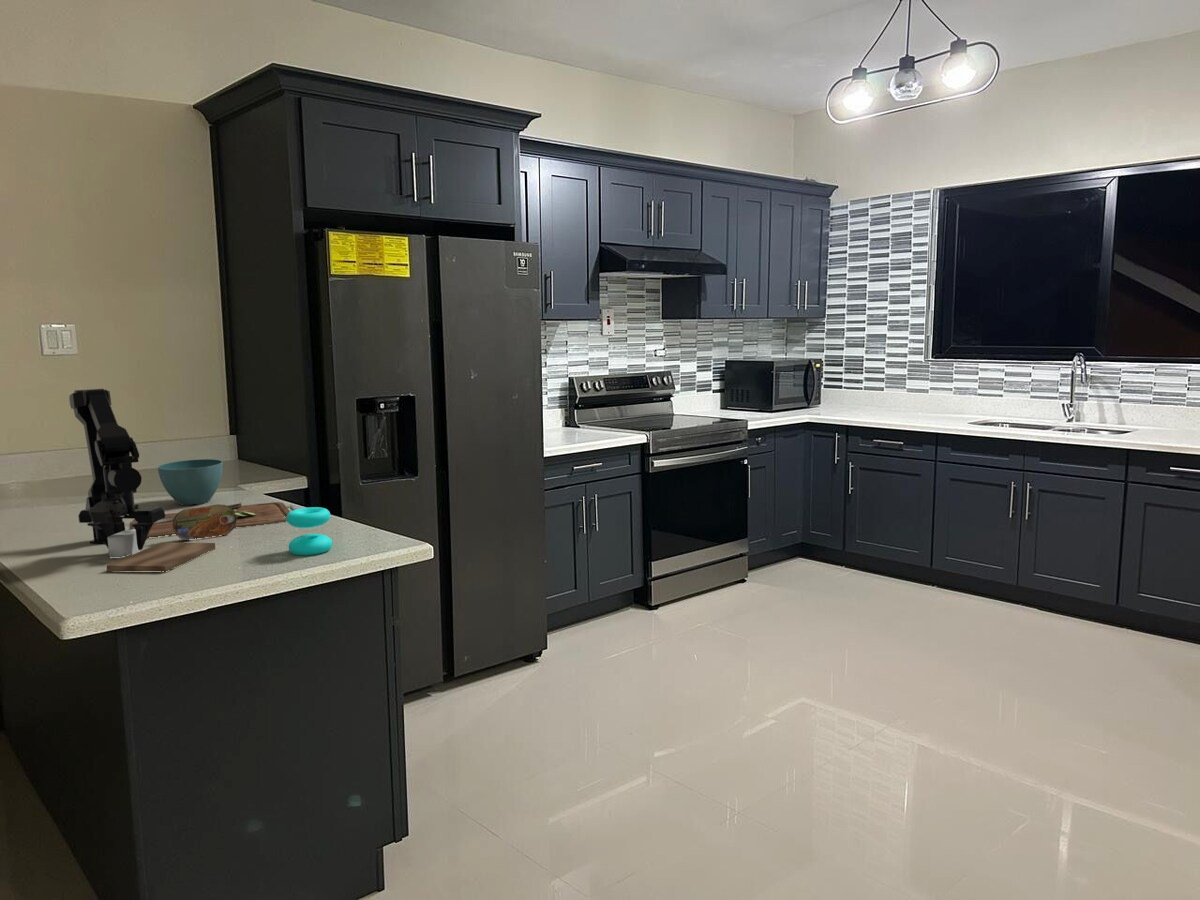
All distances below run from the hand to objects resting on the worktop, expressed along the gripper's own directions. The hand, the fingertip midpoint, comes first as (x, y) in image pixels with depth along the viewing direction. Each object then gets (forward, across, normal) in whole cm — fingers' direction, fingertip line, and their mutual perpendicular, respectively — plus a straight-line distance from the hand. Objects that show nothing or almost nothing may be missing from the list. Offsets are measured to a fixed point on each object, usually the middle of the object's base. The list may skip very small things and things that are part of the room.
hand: (125, 549), depth 207 cm
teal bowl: (+1, -18, +58) cm, 61 cm away
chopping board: (+2, +2, +34) cm, 35 cm away
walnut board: (+1, +13, -5) cm, 14 cm away
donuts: (+1, +45, +4) cm, 45 cm away
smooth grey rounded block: (+1, 0, 0) cm, 1 cm away
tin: (+1, +11, +16) cm, 19 cm away
